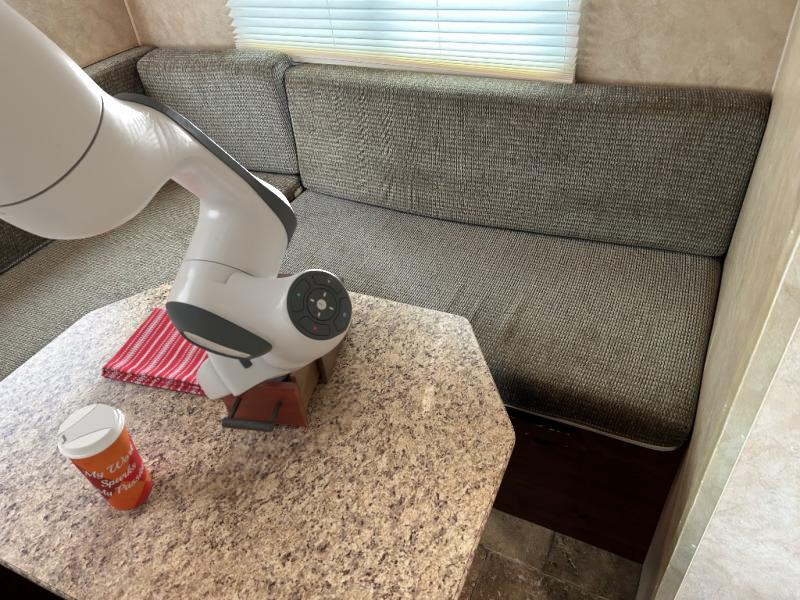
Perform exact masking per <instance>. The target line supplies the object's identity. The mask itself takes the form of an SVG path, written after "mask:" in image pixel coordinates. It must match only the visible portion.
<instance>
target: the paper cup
mask: <svg viewBox="0 0 800 600" xmlns="http://www.w3.org/2000/svg"><path fill="white" fill-rule="evenodd" d="M125 419H126V416H125V413H124V412H123V411H122V410H120V409H119V408H116V407H114V406H110V405H107V404H103V403H93V404H89V405H86V406H84V407H81V408H79V409H77V410H75V411H74V412H73V413H71V414H70V415H69V416H67V417H66V419H64V421H63V422H62V423H61V424H60V427H59V429H58V431H57V439H58V441H57V448H58V451H59V453H60V455H62V456H63V457H65V458H68V459H69V461H70V462H71V463H72V464H73V465H74V466H75V467H76V469H77V470H78V471H79V472H80V473H81V474H82V475H83V476H84V478H86V480H87V481H89V482H90V484H91V485H92V487H94V489H96V491H97V492H98V493H99V494H100V495H101V496H102V498H103V499H105V501H106V502H107V503H108V504H109V505H110V506H111V508H113V509H115V510H118V511H129V510H132V509H135V508H137V507H138V506H140V505H141V504H143V503H144V502H145V501H146V500H147V499H148V497H150V495H151V492H152V490H153V483H152V479H151V477H150V474H149V472H148V470H147V467H146V466H145V463H144V461H143V459H142V457H141V455H140V453H139V451H138V450H137V447H136V445H135V443H134V442H133V438H132V437H131V435H130V434H129V430H128V429H127V427H126V425H125Z"/></svg>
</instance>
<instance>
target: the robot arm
mask: <svg viewBox="0 0 800 600" xmlns="http://www.w3.org/2000/svg"><path fill="white" fill-rule="evenodd" d="M170 180H172V181H174V182H175V183H176V184H178V185H179V186H181V187H183V188H184V189H185V190H187V191H189V192H190V193H192V194H193V195H195V196H196V197H198V200H199V212H198V219H197V221H196V225H195V228H194V231H193V233H192V235H191V238H190V240H189V244H188V246H187V249H186V251H185V254H184V256H183V259H182V261H181V263H180V266H179V268H178V271H177V273H176V276H175V278H174V281H173V283H172V286H171V289H170V291H169V294H168V296H167V300H166V303H165V307H164V308H166V311H167V314H168V316H169V318H170V320H171V322H172V323H173V325H174V326H175V328H176V329H177V330H178V332H179V333H180V334H181V335H182V337H183V338H185V339H186V340H187V341H188V342H190V343H191V344H193V345H195V346H197V347H199V348H201V349H203V350H206V351H207V354H208V356H209V357H208V358H207V359H206V360H205V361H204V362H203V363H202V365H201V366H200V368H199V369H198V371H197V373H196V379H197V381H198V383H199V385H200V386H201V388H202V390H203V391H204V393H205V394H206V395H207V396H206V397H207V398H208V399H209V400H211V401H214V400H219V399H220V398H222V397H225V396H227V395H229V394H231V393H232V394H233V395H234V396H239V395H240V394H242V393H244V392H247V391H249V390H250V389H252V388H254V387H256V386H258V385H260V384H262V383H264V382H266V381H268V380H270V379H273V378H276V377H280V376H284V375H286V374H288V373H291V372H294V371H297V370H299V369H301V368H302V367H304V366H306V365H308V364H309V363H311V362H313V361H314V360H316V359H318V358H320V357H322V356H323V355H325V354H327V353H328V352H330V351H331V350H332V349H333V348H334V347H335V346H337V345H338V343H339V342H340V341H341V340H342V339H343V337H344V336H345V334H346V333H347V334H348V331H349V329H350V327H351V323H352V319H353V304H352V303H353V302H352V299H351V297H350V294H349V291H348V290H347V287H346V285H345V286H344V284H345V283H344V284H343V283H342V282H341V281H340V280H339V279H338V278H337V277H336V276H337V275H334V273H331V272H329V271H327V270H323V269H317V268H315V269H313V268H311V269H306V270H303V271H299V272H296V273H294V274H295V275H292V276H290V277H285V278H277V276H278V274H280V273H279V272H280V269H281V266H282V263H283V260H284V257H285V254H286V252H287V250H288V249H289V246H290V244H291V241H292V239H293V238H294V237H293V236H294V234H295V233H296V230H297V227H298V219H297V217H296V213H295V211H294V209H293V207H292V205H291V203H290V202H289V200H288V199H287V197H286V196H285V195H284V194H283V193H282V192H281V191H280V190H279V189H277V188H276V187H274V186H273V185H271V184H270V183H268V182H266V181H264V180H262V179H260V178H259V177H257V176H255V175H253V173H251V172H250V171H248V170H247V169H246V168H245V167H244V166H243V165H241V164H240V163H239V162H238V161H237V160H236V159H235V158H233V157H232V156H231V155H230V154H229V153H228V152H226V151H225V150H224V149H223V148H222V147H221V146H219V145H218V144H217V143H216V142H215V141H214V140H212V138H210V137H209V136H208V135H207V134H206V133H204V132H203V131H202V130H201V129H199V128H198V127H197V126H196V125H194V123H192V122H191V121H190V120H188V119H187V118H186V117H185V116H183V115H181V114H180V113H179V112H178V111H176V110H175V109H173V108H172V107H170V106H169V105H167V104H165V103H163V102H161V101H159V100H157V99H154V98H152V97H149V96H147V95H143V94H140V93H135V92H134V93H133V92H120V93H117V94H114V95H113V96H112V95H110V94H109V93H107V92H106V91H105V90H103V89H102V87H100V86H99V85H98V84H97V83H96V82H95V80H93V78H91V77H90V75H88V74H87V72H85V71H84V70H83V68H81V66H79V64H78V63H77V62H76V61H75V60H74V59H73V58H71V57H70V56H69V55H68V54H67V53H66V52H65V51H64V50H63V49H62V48H60V46H58V44H56V43H55V42H54V41H53V40H52V39H51V38H50V37H48V36H47V35H46V34H45V33H44V32H42V31H41V30H40V29H39V28H38V27H36V25H34V24H33V23H32V22H31V21H30V20H28V19H27V18H26V17H25V16H23V15H22V14H21V13H20V12H18V11H17V10H15V9H14V8H13V7H12V6H11V5H9V4H7V2H5V1H3V0H0V220H2V221H4V222H6V223H8V224H10V225H12V226H14V227H17V228H19V229H21V230H23V231H26V232H27V233H30V234H32V235H36V236H38V237H41V238H45V239H49V240H50V239H51V240H60V241H61V240H63V241H67V240H70V241H71V240H81V239H87V238H91V237H96V236H98V235H102V234H105V233H107V232H110V231H112V230H115V229H116V228H118V227H120V226H122V225H124V224H125V223H127V222H129V221H130V220H132V219H134V218H135V217H137V215H139V214H140V213H141V212H142V211H143V210H144V209H145V208H146V207H147V205H148V204H150V203H151V201H152V200H153V198H154V197H155V196H156V195H157V193H158V192H159V191H160V190H161V188H162V187H163V186H164V185H165V184H166V183H167V182H168V181H170ZM347 334H346V335H347Z"/></svg>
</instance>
